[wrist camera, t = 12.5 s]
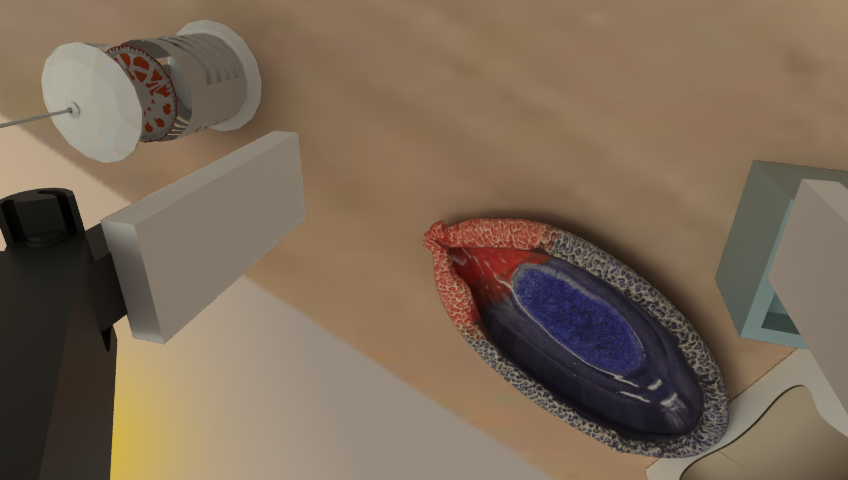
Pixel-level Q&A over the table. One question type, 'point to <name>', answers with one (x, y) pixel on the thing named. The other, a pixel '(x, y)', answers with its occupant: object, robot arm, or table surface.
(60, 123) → the french press
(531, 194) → the table surface
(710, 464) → the gable box
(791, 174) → the open box
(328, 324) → the table surface
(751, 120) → the table surface
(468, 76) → the table surface
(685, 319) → the dish
